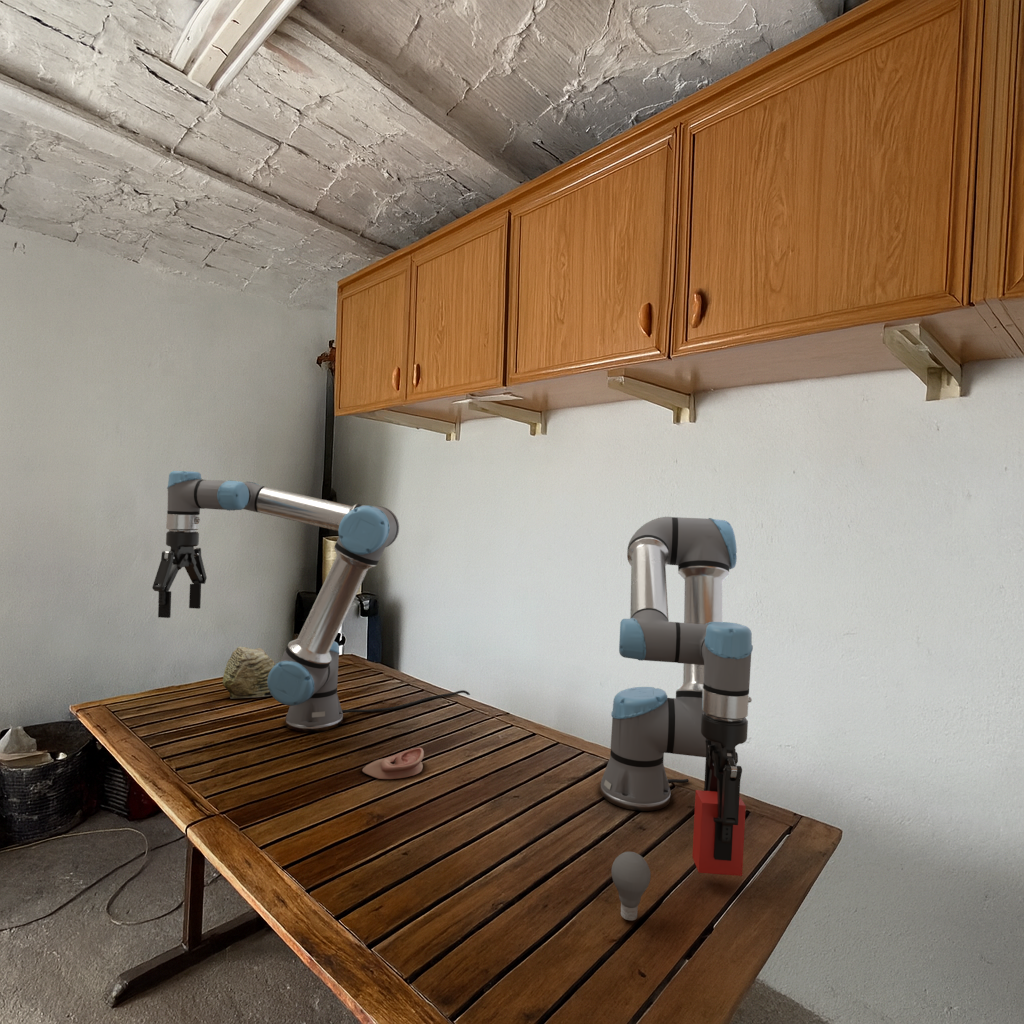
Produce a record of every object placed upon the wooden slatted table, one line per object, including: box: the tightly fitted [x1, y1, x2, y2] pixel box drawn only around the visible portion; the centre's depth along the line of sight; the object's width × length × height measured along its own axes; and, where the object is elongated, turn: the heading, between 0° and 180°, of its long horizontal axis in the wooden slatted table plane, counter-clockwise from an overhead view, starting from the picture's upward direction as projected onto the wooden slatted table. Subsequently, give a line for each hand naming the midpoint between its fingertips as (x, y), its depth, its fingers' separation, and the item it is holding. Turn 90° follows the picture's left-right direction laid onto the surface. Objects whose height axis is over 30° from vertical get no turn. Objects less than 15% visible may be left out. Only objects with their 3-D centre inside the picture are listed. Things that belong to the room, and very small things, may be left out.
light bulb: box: [611, 851, 652, 921], centre depth 99 cm, size 6×6×10 cm
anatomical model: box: [361, 747, 425, 780], centre depth 148 cm, size 13×4×12 cm
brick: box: [692, 789, 747, 877], centre depth 108 cm, size 7×5×12 cm, turn 87°
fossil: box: [222, 646, 276, 699], centre depth 198 cm, size 9×18×15 cm, turn 132°
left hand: (180, 612), depth 164 cm, fingers open, 13 cm apart
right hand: (718, 849), depth 108 cm, fingers closed on brick, 5 cm apart
